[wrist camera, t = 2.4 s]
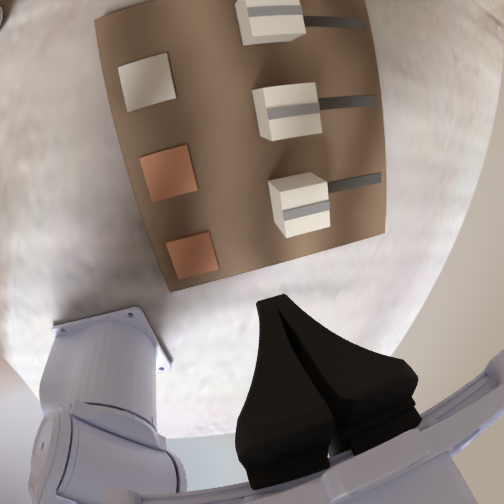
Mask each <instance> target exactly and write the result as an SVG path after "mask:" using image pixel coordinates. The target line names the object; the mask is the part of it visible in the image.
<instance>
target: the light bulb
mask: <svg viewBox="0 0 504 504" xmlns="http://www.w3.org/2000/svg"><path fill="white" fill-rule="evenodd" d="M2 19H3V10H2V8H1V6H0V25H1V23H2Z"/></svg>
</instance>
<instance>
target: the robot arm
mask: <svg viewBox="0 0 504 504" xmlns="http://www.w3.org/2000/svg"><path fill="white" fill-rule="evenodd" d="M256 306H257V311H258V315H259V323H260V334H259V348H258V356H257V362H256V367H255V371H254V376H253V380H252V383H251V387H250V390H249V392H248V395H247V398H246V401H245V404H244V406H243V408H242V411H241V413H240V415H239V417H238V420H237V427H236V436H235V447H236V452H237V455H238V459H239V461H240V463H241V464H242V465H243V467H244V468H245V469H246V472H247V476H248V480H249V482H245V483H240V484H235V485H230V486H224V487H218V488H212V489H205V490H197V491H189V492H187V479H186V473H185V470H184V467H183V464H182V462H181V461H180V459H179V458H178V457H177V455H176V454H174V453H173V452H171V451H169V450H166V438H165V437H164V436H161V435H159V434H158V433H157V422H156V373H159V372H164V371H168V370H170V369H171V363H170V361H169V360H168V358H167V356H166V354H165V353H164V351H163V349H162V347H161V346H160V344H159V342H158V340H157V338H156V336H155V334H154V333H153V331H152V329H151V327H150V325H149V323H148V321H147V319H146V317H145V315H144V313H143V311H142V310H141V308H139V307H132V308H128V309H124V310H119V311H115V312H111V313H107V314H103V315H99V316H94V317H90V318H86V319H82V320H77V321H73V322H69V323H64V324H60V325H56V326H53V327H52V329H51V332H52V334H53V335H54V337H55V340H54V343H53V346H52V348H51V351H50V354H49V357H48V360H47V363H46V366H45V369H44V372H43V376H42V379H41V382H40V389H39V395H40V403H41V407H42V410H43V413H44V415H45V416H44V418H43V420H42V422H41V424H40V426H39V429H38V431H37V435H36V438H35V441H34V445H33V450H32V457H31V472H30V477H29V483H28V487H29V493H30V496H31V499H32V502H33V504H478V502H477V500H476V499H475V497H474V495H473V493H472V492H471V490H470V488H469V487H468V485H467V483H466V481H465V480H464V478H463V476H462V475H461V473H460V471H459V470H458V468H457V466H456V465H455V463H454V461H453V460H452V458H451V457H452V456H454V455H455V454H456V453H458V452H459V451H460V450H462V449H463V448H464V447H465V446H467V445H468V444H469V443H471V442H472V441H473V440H474V439H475V438H477V437H478V436H479V435H480V434H481V433H482V432H484V430H486V429H487V428H488V427H489V426H490V425H491V424H493V422H495V421H496V420H497V419H498V418H499V417H500V416H501V415H502V414H503V413H504V349H503V350H502V351H500V353H498V354H497V355H496V356H494V357H493V358H492V359H491V360H490V362H489V363H488V364H487V366H486V368H485V371H483V372H482V373H481V374H479V375H478V376H477V377H476V378H474V379H473V380H472V381H470V382H469V383H467V384H466V385H465V386H464V387H462V388H460V389H459V390H458V391H456V392H455V393H453V394H452V395H451V396H449V397H447V398H446V399H444V400H443V401H441V402H440V403H438V404H437V405H435V406H433V407H432V408H430V409H429V410H427V411H425V412H424V413H422V414H420V415H419V414H418V412H417V411H416V409H415V407H414V406H415V401H414V400H413V399H412V395H413V393H414V391H415V389H416V386H417V383H418V376H417V375H416V373H415V372H414V371H413V369H412V368H411V367H410V366H409V365H408V364H407V363H406V362H405V361H404V360H402V359H398V358H393V357H389V356H385V355H382V354H379V353H376V352H373V351H370V350H368V349H365V348H363V347H360V346H358V345H356V344H353V343H351V342H349V341H347V340H345V339H344V338H342V337H340V336H338V335H336V334H335V333H333V332H331V331H330V330H328V329H327V328H325V327H324V326H322V325H321V324H320V323H318V322H317V321H315V320H314V319H313V318H312V317H310V316H309V315H308V314H307V313H305V312H304V311H303V310H302V309H301V308H300V307H298V306H297V305H296V304H295V303H294V302H293V301H292V300H291V299H290V298H289V297H288V296H287V295H285V294H282V295H278V296H275V297H271V298H268V299H264V300H261V301H258V302H257V303H256ZM129 313H132V314H133V315H130V314H129ZM64 329H65V330H64ZM328 453H329V456H330V458H328V457H327V456H328Z"/></svg>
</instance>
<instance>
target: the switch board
mask: <svg viewBox="0 0 504 504" xmlns="http://www.w3.org/2000/svg"><path fill="white" fill-rule="evenodd" d="M236 2H237V0H154V1H151V2H147V3H143V4H140V5H136V6H133V7H130V8H127V9H123V10H120V11H117V12H114V13H112V14H109V15H106V16H103V17H101V18H98V19H95V20H94V22H95V29H96V36H97V42H98V48H99V54H100V60H101V65H102V70H103V75H104V80H105V85H106V90H107V94H108V99H109V103H110V107H111V112H112V116H113V120H114V124H115V128H116V132H117V136H118V139H119V143H120V147H121V150H122V154H123V158H124V161H125V165H126V168H127V171H128V175H129V178H130V181H131V185H132V188H133V191H134V194H135V197H136V200H137V204H138V207H139V210H140V213H141V216H142V219H143V221H144V224H145V227H146V230H147V233H148V236H149V239H150V241H151V244H152V247H153V250H154V252H155V255H156V258H157V260H158V263H159V266H160V268H161V271H162V273H163V276H164V278H165V281H166V283H167V286H168V288H169V291H170V292H174V291H177V290H181V289H185V288H189V287H193V286H197V285H200V284H204V283H208V282H212V281H216V280H219V279H223V278H227V277H230V276H234V275H238V274H242V273H245V272H249V271H253V270H256V269H260V268H264V267H267V266H271V265H275V264H278V263H282V262H285V261H289V260H293V259H296V258H300V257H303V256H307V255H310V254H314V253H318V252H321V251H325V250H328V249H332V248H335V247H339V246H342V245H346V244H349V243H353V242H356V241H359V240H363V239H366V238H370V237H373V236H377V235H380V234H383V233H385V214H386V164H385V140H384V124H383V112H382V102H381V92H380V84H379V76H378V69H377V62H376V56H375V50H374V44H373V39H372V33H371V28H370V24H369V19H368V14H367V10H366V6H365V2H364V0H299V2H300V5H301V7H302V12H303V20H304V24H305V29H306V34H304V35H302V36H300V37H298V38H296V39H294V40H292V41H288V42H273V43H262V44H253V45H244V46H243V42H242V37H241V32H240V27H239V22H238V18H237V13H236V8H235V3H236ZM312 82H315V84H316V91H317V98H318V103H319V106H320V119H321V127H322V133H319V134H312V135H305V136H299V137H293V138H287V139H281V140H276V141H270V140H268V139H266V138H263V137H261V136H260V132H259V126H258V121H257V115H256V110H255V104H254V99H253V93H252V90H255V89H260V88H266V87H273V86H281V85H290V84H300V83H312ZM308 172H311V173H313V174H315V175H316V176H318V177H320V178H321V179H323V180H325V181H326V182H327V185H328V198H329V203H330V210H329V213H330V227H327V228H323V229H319V230H316V231H312V232H308V233H304V234H300V235H296V236H293V237H289V238H286V237H285V236H284V234H283V233H282V232H281V230H280V229H279V228H278V226H277V225H276V224H275V222H274V217H273V210H272V204H271V198H270V191H269V185H268V181H269V180H274V179H279V178H283V177H288V176H293V175H298V174H303V173H308Z"/></svg>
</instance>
